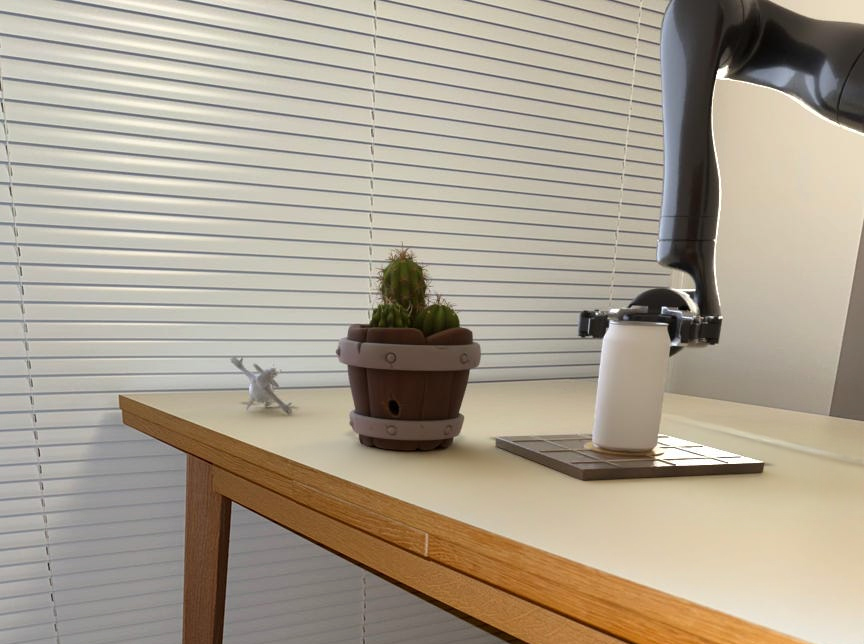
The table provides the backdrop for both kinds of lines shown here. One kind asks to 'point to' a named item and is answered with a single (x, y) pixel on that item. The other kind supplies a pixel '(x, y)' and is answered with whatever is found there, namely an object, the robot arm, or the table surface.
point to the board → (626, 458)
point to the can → (631, 386)
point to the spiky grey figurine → (262, 385)
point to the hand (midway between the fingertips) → (640, 329)
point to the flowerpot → (408, 364)
